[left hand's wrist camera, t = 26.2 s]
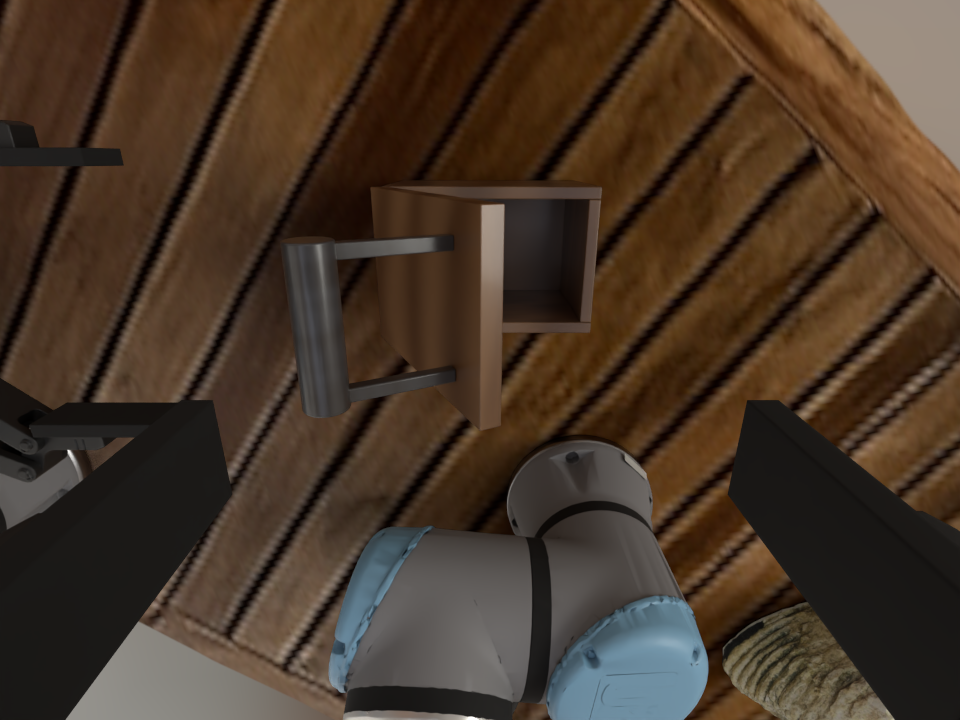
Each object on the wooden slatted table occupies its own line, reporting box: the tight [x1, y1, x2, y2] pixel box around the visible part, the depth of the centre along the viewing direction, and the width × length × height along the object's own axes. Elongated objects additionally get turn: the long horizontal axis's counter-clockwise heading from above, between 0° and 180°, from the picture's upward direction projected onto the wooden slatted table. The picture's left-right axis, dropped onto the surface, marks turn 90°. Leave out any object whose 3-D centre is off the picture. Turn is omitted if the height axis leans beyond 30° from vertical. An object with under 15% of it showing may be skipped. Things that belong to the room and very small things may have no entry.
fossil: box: [722, 602, 894, 720], centre depth 56 cm, size 9×18×15 cm, turn 137°
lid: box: [280, 187, 505, 431], centre depth 27 cm, size 16×10×8 cm
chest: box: [381, 180, 602, 333], centre depth 41 cm, size 15×10×11 cm
